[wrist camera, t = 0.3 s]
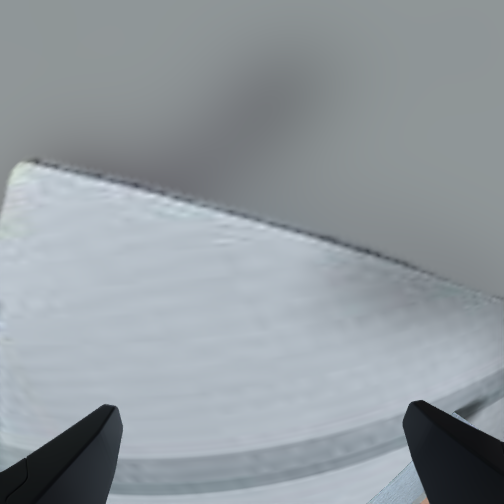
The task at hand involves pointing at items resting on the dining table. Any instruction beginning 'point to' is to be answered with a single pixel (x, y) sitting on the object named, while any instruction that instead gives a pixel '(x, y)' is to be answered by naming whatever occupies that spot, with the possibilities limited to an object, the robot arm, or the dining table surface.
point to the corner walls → (405, 485)
